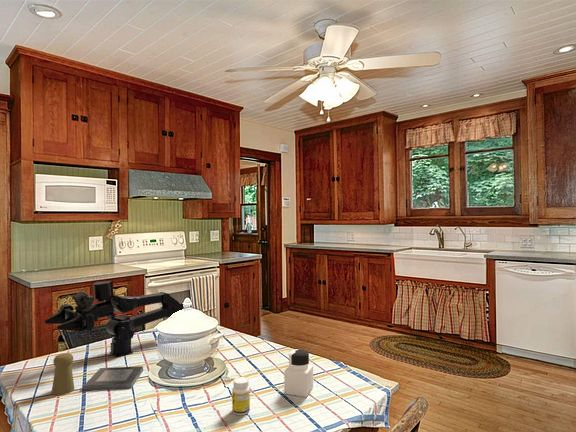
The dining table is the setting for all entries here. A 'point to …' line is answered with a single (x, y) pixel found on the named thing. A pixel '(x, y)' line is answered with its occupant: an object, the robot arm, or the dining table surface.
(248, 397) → the supplement bottle
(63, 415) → the dining table surface
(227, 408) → the dining table surface
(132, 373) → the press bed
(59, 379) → the cork
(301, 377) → the medicine bottle
